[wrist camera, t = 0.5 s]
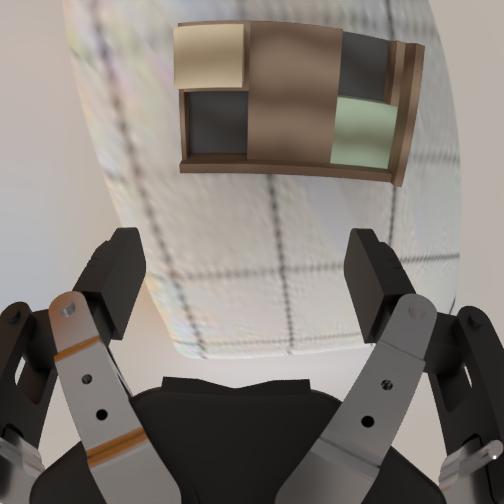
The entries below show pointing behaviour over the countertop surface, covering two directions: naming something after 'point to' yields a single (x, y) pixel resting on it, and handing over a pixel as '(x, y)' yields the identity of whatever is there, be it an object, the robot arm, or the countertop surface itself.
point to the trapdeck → (307, 106)
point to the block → (209, 56)
